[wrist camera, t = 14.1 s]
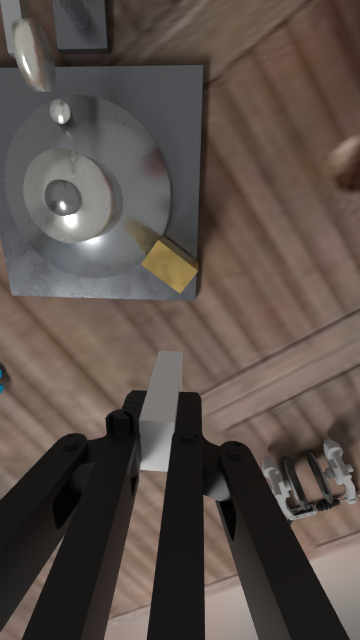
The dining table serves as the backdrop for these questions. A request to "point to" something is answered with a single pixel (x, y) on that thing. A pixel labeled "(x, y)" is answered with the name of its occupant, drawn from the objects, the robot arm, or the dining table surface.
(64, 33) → the dial gauge
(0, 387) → the blue virus model
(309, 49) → the dining table surface
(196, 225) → the turntable base
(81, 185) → the cover
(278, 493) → the bike brake
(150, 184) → the turntable
